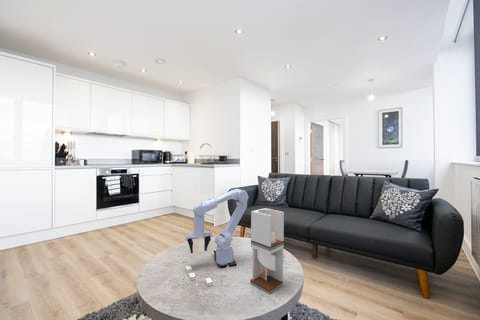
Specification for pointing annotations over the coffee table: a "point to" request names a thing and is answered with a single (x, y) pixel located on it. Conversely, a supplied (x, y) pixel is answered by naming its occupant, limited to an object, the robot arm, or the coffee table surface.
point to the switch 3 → (208, 282)
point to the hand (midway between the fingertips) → (198, 251)
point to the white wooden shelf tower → (267, 249)
